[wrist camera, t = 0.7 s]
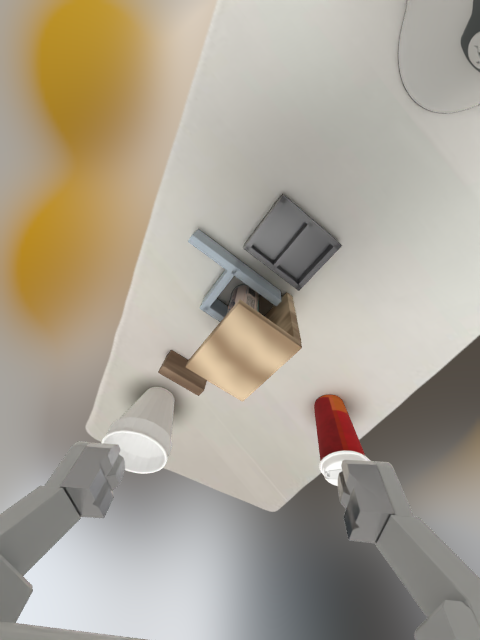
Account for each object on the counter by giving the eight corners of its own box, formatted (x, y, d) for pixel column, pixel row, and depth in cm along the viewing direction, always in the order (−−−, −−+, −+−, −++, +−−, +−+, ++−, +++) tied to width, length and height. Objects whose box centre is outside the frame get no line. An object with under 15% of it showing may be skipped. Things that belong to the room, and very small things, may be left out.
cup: (129, 373, 58) (94, 426, 46) (186, 380, 58) (165, 436, 46) (135, 413, 64) (105, 469, 52) (186, 420, 64) (168, 478, 52)
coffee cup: (310, 419, 60) (322, 489, 47) (307, 392, 56) (319, 460, 43) (349, 416, 59) (373, 488, 46) (349, 388, 55) (375, 457, 42)
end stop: (171, 349, 54) (163, 365, 50) (208, 372, 56) (204, 390, 52) (166, 356, 55) (158, 372, 50) (203, 378, 57) (198, 395, 53)
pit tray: (282, 193, 38) (283, 195, 36) (338, 241, 41) (341, 245, 39) (244, 244, 42) (243, 248, 40) (297, 285, 45) (298, 290, 43)
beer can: (228, 285, 46) (217, 320, 36) (256, 280, 45) (253, 315, 35) (235, 310, 48) (226, 350, 38) (261, 306, 47) (260, 345, 37)
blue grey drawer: (198, 229, 42) (192, 234, 38) (280, 290, 45) (281, 301, 42) (169, 274, 46) (161, 282, 42) (247, 327, 49) (245, 339, 46)
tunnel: (247, 262, 44) (238, 303, 31) (292, 296, 46) (302, 348, 33) (207, 313, 49) (185, 367, 36) (249, 341, 51) (243, 402, 38)
